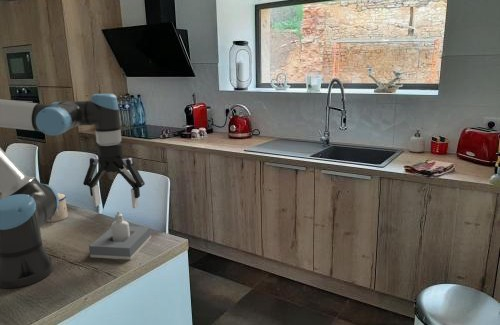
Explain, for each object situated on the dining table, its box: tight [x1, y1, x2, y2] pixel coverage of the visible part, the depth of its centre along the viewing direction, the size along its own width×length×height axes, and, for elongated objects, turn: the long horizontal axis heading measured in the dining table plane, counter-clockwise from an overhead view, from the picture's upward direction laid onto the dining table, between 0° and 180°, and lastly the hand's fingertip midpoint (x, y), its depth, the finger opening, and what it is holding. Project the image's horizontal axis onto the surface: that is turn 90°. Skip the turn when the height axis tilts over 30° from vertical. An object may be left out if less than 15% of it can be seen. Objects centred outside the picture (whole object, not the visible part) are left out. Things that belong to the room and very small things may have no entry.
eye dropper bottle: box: [110, 210, 130, 242], centre depth 129 cm, size 4×6×12 cm
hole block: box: [88, 225, 152, 261], centre depth 130 cm, size 16×14×4 cm
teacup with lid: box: [46, 192, 69, 223], centre depth 155 cm, size 12×9×12 cm
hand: (116, 206), depth 127 cm, fingers open, 13 cm apart
